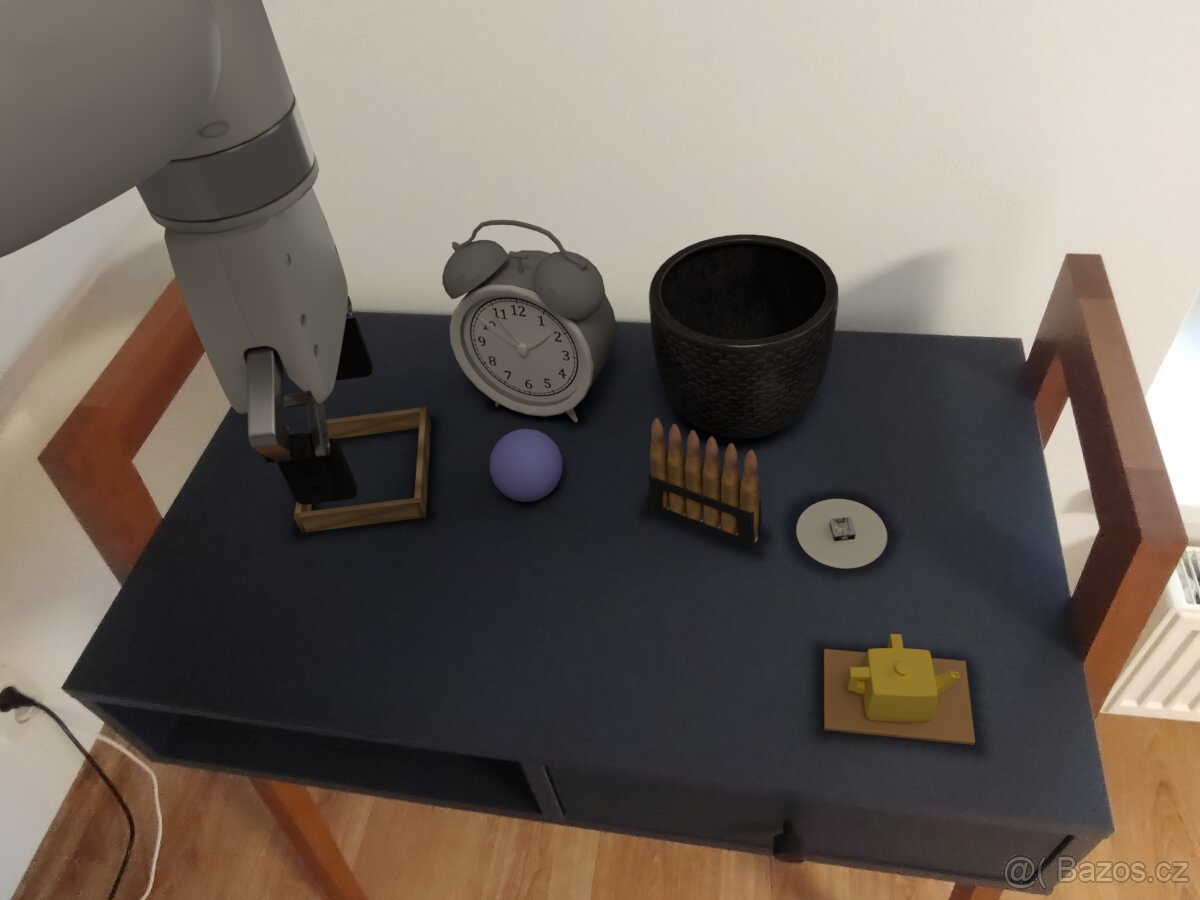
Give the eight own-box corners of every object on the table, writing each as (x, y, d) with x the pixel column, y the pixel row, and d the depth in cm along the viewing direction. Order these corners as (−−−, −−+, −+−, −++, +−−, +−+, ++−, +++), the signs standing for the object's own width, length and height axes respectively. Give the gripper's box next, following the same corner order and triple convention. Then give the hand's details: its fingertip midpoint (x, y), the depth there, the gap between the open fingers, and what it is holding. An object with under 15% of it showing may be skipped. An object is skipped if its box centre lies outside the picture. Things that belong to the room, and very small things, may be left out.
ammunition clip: (649, 511, 89) (641, 421, 80) (658, 497, 90) (651, 407, 81) (753, 551, 84) (757, 461, 76) (762, 536, 85) (766, 446, 77)
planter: (818, 483, 89) (832, 355, 78) (641, 463, 93) (630, 339, 81) (831, 364, 100) (845, 237, 89) (673, 351, 104) (666, 227, 93)
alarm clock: (460, 410, 101) (411, 237, 85) (494, 359, 106) (454, 187, 90) (602, 439, 96) (578, 261, 80) (630, 384, 101) (613, 206, 85)
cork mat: (974, 745, 70) (975, 742, 70) (823, 730, 72) (824, 727, 72) (964, 663, 75) (965, 660, 74) (823, 651, 77) (823, 648, 76)
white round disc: (806, 572, 82) (807, 563, 81) (788, 503, 88) (789, 494, 87) (897, 563, 82) (899, 554, 81) (874, 494, 87) (875, 485, 86)
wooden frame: (425, 517, 91) (420, 501, 89) (301, 533, 91) (293, 517, 89) (431, 422, 100) (426, 406, 98) (318, 437, 100) (311, 421, 98)
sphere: (505, 461, 95) (493, 411, 90) (572, 465, 94) (564, 415, 89) (488, 514, 90) (474, 465, 85) (559, 519, 89) (549, 470, 84)
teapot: (942, 662, 75) (954, 626, 71) (955, 729, 71) (968, 695, 67) (840, 659, 76) (846, 624, 72) (846, 726, 72) (853, 692, 68)
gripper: (181, 79, 47) (294, 344, 59) (76, 286, 35) (246, 564, 47) (331, 59, 46) (413, 328, 59) (277, 260, 34) (394, 545, 47)
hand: (339, 433), depth 53 cm, fingers open, 9 cm apart
